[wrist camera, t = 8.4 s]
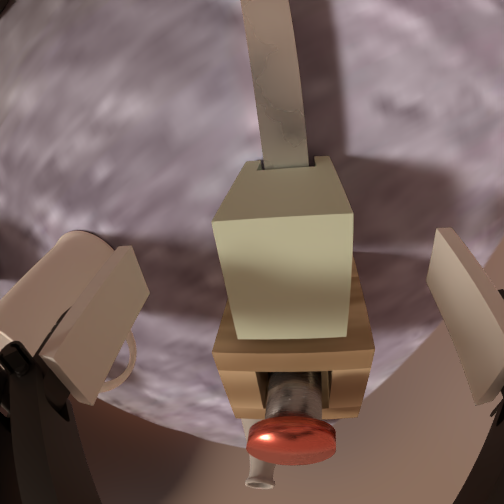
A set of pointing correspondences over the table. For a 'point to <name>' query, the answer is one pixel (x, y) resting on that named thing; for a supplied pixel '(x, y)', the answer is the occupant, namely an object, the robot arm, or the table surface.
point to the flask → (258, 465)
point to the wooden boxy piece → (298, 362)
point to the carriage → (286, 251)
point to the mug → (55, 294)
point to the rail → (276, 83)
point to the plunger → (293, 422)
